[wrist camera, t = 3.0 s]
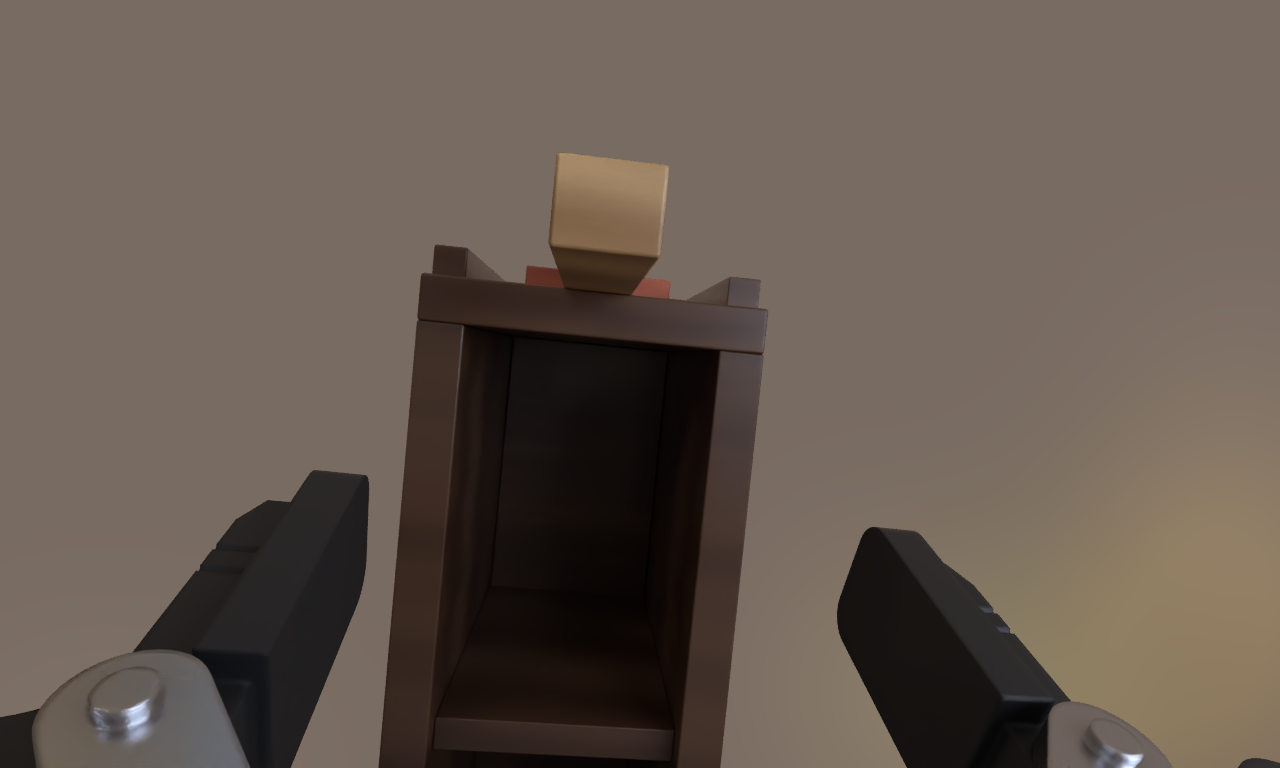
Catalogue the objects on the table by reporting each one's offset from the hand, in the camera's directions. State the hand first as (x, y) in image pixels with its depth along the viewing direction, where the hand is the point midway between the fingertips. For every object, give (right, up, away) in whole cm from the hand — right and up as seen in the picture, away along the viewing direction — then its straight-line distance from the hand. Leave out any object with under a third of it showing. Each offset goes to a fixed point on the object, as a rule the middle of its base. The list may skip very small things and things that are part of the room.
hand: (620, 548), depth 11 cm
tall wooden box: (-5, -26, +22) cm, 34 cm away
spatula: (-1, +6, +14) cm, 16 cm away
